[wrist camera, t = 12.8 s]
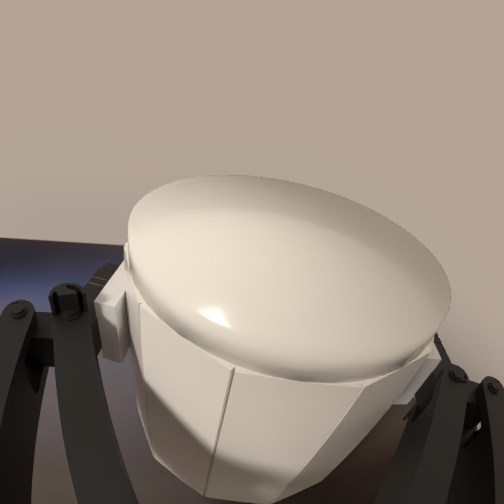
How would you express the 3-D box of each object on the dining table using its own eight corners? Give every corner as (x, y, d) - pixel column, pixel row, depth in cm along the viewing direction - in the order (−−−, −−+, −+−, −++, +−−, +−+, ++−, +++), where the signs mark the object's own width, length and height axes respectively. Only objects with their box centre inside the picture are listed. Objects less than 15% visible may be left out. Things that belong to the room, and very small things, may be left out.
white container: (99, 405, 13) (61, 212, 8) (226, 314, 21) (254, 164, 16) (279, 542, 9) (430, 436, 4) (368, 393, 17) (452, 245, 12)
